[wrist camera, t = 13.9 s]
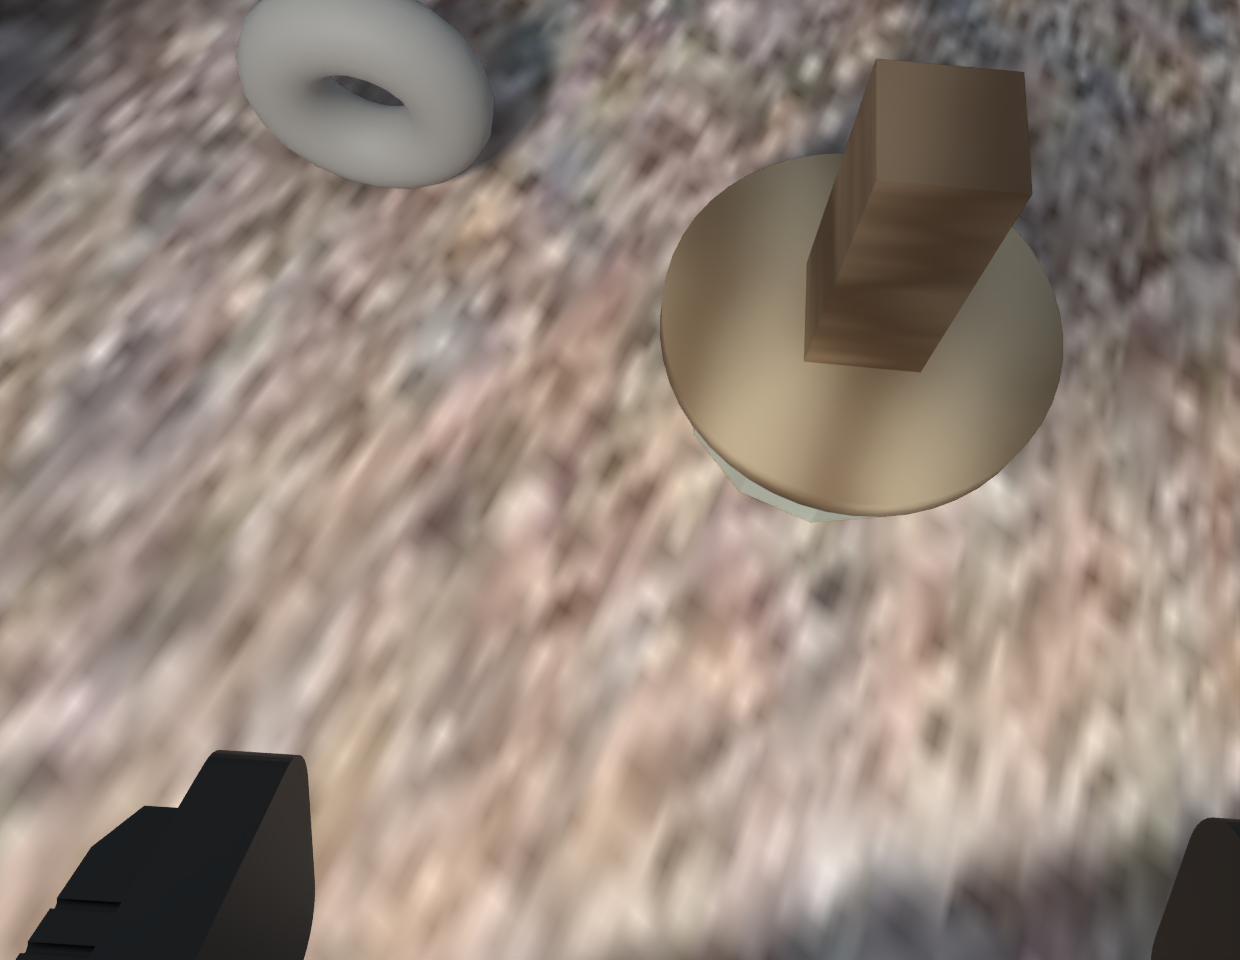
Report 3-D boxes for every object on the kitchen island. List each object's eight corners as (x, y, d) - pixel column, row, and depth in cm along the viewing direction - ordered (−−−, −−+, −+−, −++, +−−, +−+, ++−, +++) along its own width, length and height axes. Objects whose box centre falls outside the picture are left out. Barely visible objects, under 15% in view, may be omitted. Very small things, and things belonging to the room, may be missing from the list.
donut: (266, 189, 46) (185, 6, 36) (288, 125, 47) (214, -67, 38) (495, 222, 45) (471, 47, 36) (510, 157, 47) (491, -28, 37)
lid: (644, 496, 36) (667, 331, 25) (674, 157, 41) (703, -92, 31) (1061, 535, 35) (1253, 386, 25) (1037, 191, 41) (1188, -48, 30)
